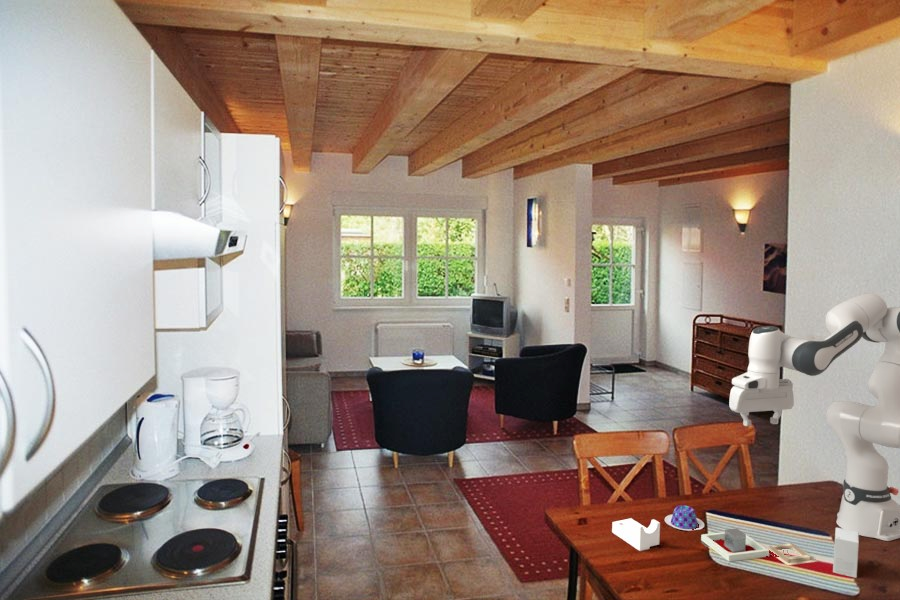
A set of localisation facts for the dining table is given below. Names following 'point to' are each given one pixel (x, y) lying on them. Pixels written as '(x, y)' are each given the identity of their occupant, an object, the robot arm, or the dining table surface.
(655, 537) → the bracket
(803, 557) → the socket holder
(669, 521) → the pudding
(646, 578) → the dining table surface
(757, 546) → the tray
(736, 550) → the gray block
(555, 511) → the dining table surface
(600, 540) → the dining table surface
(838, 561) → the small box
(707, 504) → the dining table surface
